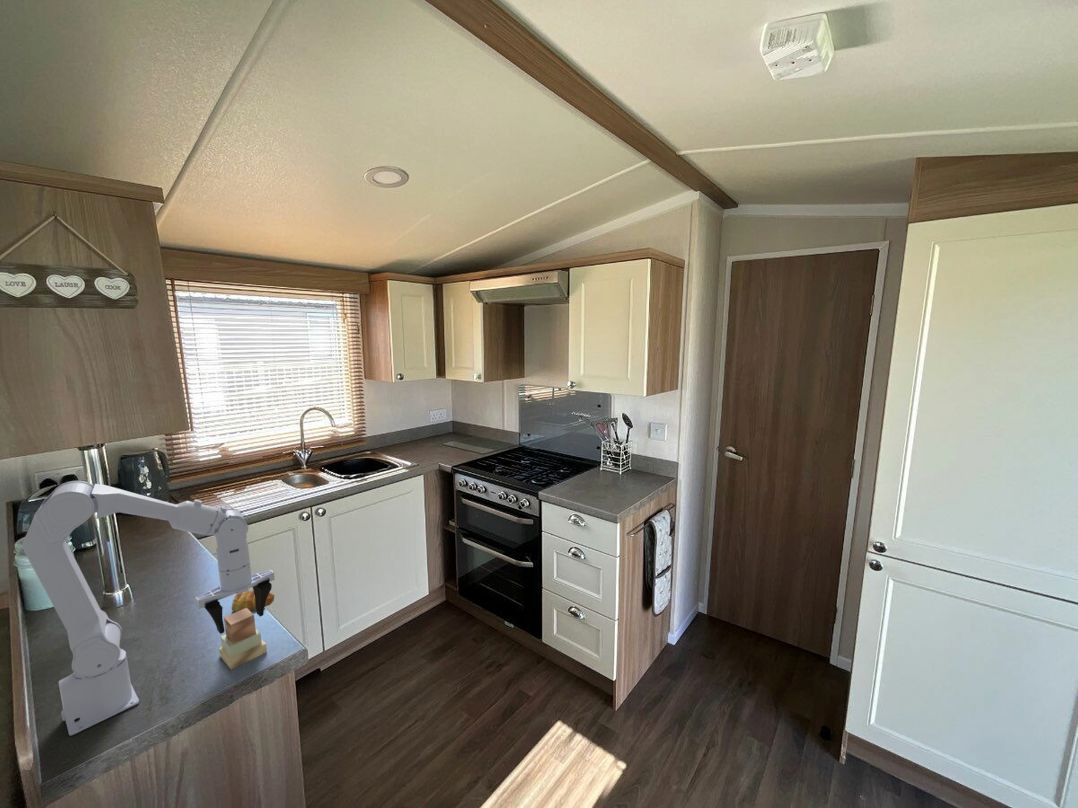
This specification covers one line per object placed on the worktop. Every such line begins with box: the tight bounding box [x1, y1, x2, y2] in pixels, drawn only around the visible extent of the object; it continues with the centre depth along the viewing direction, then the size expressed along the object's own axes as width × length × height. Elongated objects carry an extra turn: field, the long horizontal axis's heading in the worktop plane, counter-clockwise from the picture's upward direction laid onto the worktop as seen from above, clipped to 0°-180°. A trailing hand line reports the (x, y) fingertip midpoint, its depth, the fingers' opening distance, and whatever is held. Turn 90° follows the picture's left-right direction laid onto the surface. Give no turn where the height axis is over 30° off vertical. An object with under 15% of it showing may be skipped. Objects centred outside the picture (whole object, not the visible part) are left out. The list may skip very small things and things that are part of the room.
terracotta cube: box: [223, 608, 257, 644], centre depth 100 cm, size 4×4×4 cm
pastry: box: [231, 590, 275, 613], centre depth 120 cm, size 9×7×4 cm
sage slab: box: [220, 628, 262, 658], centre depth 100 cm, size 6×6×2 cm
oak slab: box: [218, 638, 268, 670], centre depth 101 cm, size 7×7×2 cm
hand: (241, 622), depth 100 cm, fingers open, 7 cm apart
